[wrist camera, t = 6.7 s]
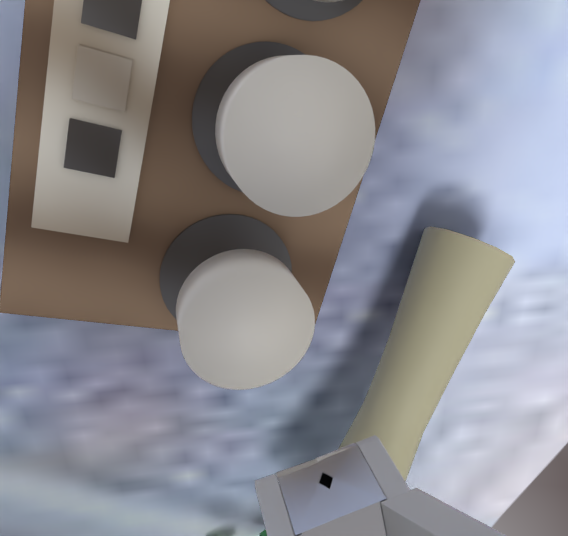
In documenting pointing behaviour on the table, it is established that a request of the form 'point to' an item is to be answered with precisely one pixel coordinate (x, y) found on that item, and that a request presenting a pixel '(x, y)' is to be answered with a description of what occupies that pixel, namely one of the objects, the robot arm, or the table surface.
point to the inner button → (243, 319)
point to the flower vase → (428, 339)
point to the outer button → (328, 0)
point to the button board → (162, 147)
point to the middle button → (295, 133)
